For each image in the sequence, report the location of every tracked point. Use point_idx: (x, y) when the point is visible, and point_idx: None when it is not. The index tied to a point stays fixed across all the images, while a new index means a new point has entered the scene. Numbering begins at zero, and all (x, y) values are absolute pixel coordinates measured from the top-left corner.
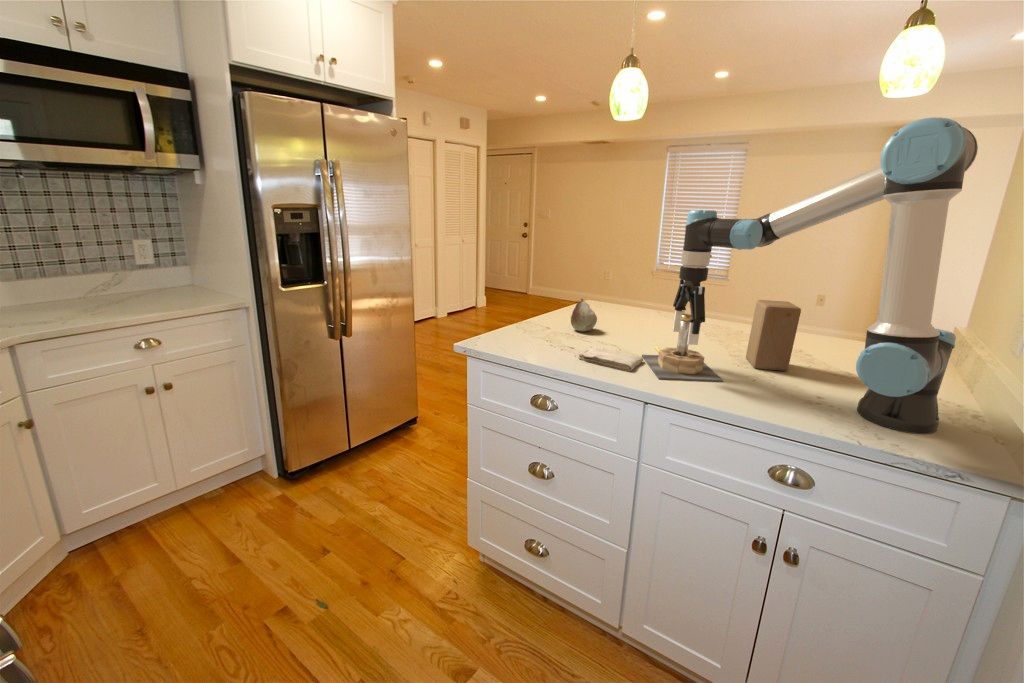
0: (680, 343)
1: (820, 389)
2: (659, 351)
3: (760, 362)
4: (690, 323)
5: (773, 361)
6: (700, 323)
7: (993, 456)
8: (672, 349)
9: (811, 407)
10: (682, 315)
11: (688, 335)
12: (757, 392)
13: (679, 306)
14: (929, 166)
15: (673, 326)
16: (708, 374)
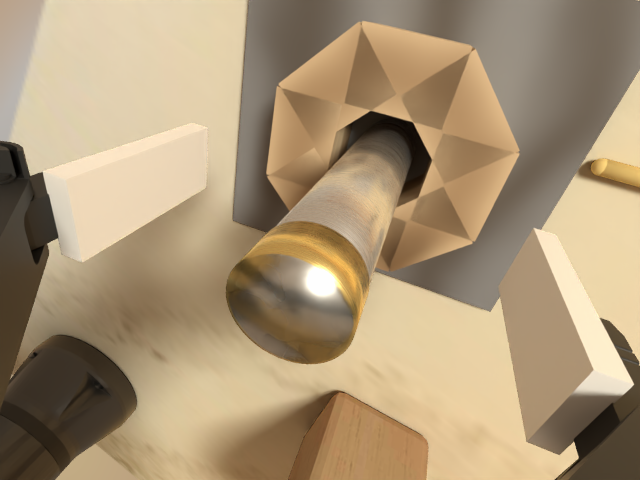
0: (344, 157)
1: (202, 395)
2: (465, 45)
3: (324, 413)
4: (68, 169)
5: (309, 438)
6: (66, 247)
7: (14, 368)
8: (467, 160)
9: (105, 298)
10: (275, 253)
11: (165, 141)
12: (167, 255)
13: (582, 461)
14: None
15: (557, 253)
16: (282, 207)
